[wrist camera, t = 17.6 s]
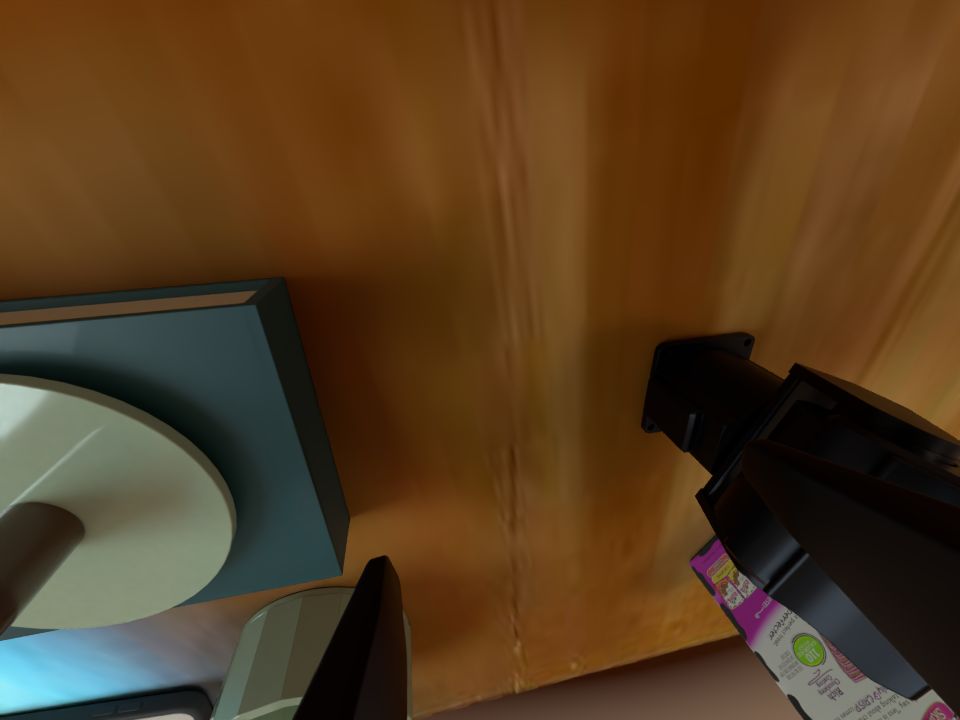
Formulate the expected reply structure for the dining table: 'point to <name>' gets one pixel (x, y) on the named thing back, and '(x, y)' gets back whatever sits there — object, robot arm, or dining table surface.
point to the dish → (285, 656)
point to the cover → (101, 510)
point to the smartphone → (133, 709)
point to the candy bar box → (804, 653)
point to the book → (207, 408)
